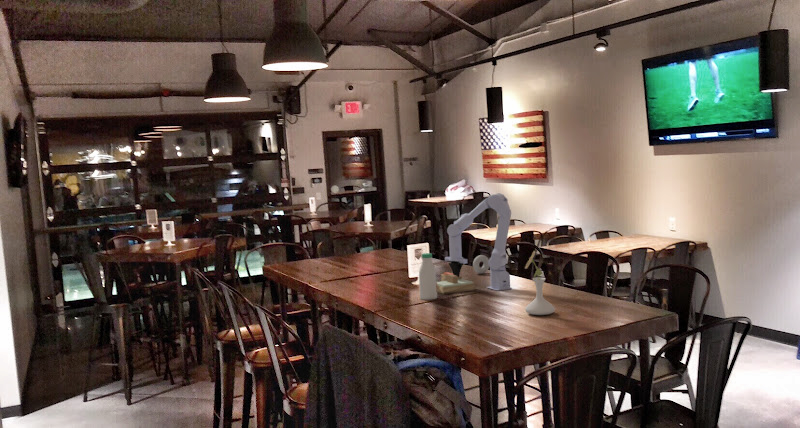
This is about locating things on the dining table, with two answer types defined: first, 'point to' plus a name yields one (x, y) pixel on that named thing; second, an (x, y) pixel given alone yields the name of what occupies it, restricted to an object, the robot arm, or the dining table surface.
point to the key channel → (444, 277)
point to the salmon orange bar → (447, 273)
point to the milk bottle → (427, 278)
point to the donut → (478, 260)
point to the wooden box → (455, 288)
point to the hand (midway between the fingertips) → (456, 277)
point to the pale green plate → (453, 281)
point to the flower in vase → (538, 295)
